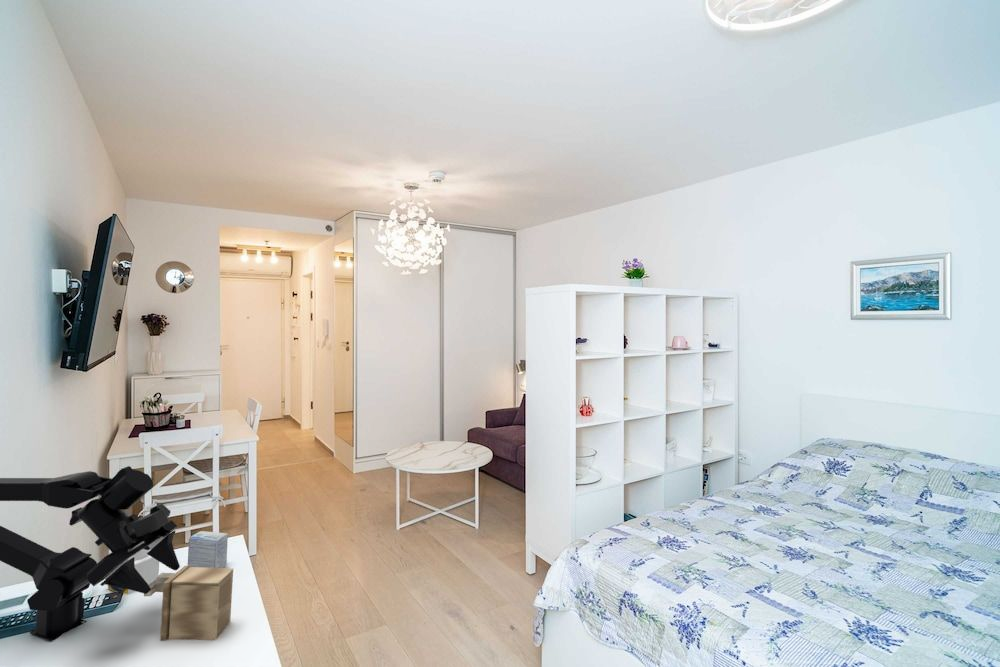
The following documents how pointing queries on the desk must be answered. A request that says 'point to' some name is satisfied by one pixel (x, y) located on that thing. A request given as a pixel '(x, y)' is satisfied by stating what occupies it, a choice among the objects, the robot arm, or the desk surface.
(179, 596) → the carton
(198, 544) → the medicine box
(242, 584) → the desk surface
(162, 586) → the flap
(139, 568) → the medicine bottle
